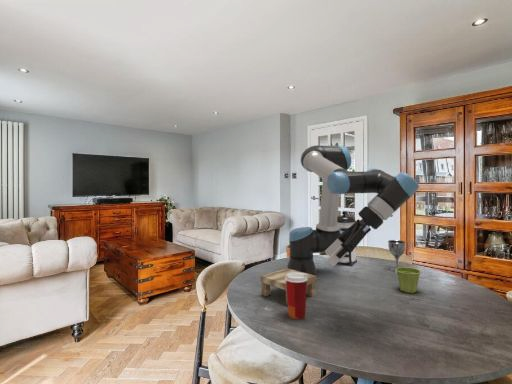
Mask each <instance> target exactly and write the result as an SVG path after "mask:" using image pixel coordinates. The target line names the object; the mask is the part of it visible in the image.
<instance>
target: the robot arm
mask: <svg viewBox="0 0 512 384" xmlns="http://www.w3.org/2000/svg"><path fill="white" fill-rule="evenodd" d="M300 164H301V166H302V167H303V168H304V170H306V171H307V172H309V173H314V174H315V175H317V176H318V177H319V178H320V179H322V186H321V197H320V199H321V200H320V211H319V212H320V213H319V214H320V215H319V222H318V223H317V224H315V225H316V226H315V229H313V227H311V226H305V227H303V226H302V227H301V226H300V227H296V228H294V229H291V230H290V232H289V236H288V237H289V238H288V241H289V244H288V245H289V259H288V263H287V267H286V268H288V269H292V270H296V271H300V272H304V273H307V274H311V275H315V276H316V277H317V275H318V274H317V273H318V272H317V271H318V270H317V268H316V265H315V262H314V254H319V253H321V254H322V253H326V255H328V256H329V257H328V258H327V259H326V262H327V263H328V264H329V265H330V266H331V267H332V268H334V267H335V266H336V265H337V264H338V263H340V262H339V261H340V260H341V259H342V258H343V257H344V256H345V255H346V254H347V253H348V252H352V251H353V250H354V249H355V247H356V248H357V246H358V245H359V243H361V242H362V240H363V239H364V238H365V237H366V235H367V234H368V233H369V232H371V230H372V229H373V230H378V228H380V226H382V225H383V224H384V221H387V220H388V219H389V218H392V217H393V216H394V215H393V214H394V213H395V212H396V211H398V209H400V208H401V207H402V206H403V205H404V204H405V203H406V202H407V201H408V200H409V199H410V198H412V197H413V196H414V194H415V193H416V192H417V191H418V190H419V188H420V185H419V183H418V181H417V180H416V179H414V177H413V176H411V175H410V174H409V173H406V172H402V171H401V172H399V173H398V174H397V175H395V176H393V175H391V174H388V173H387V172H386V171H384V170H382V169H378V168H370V169H368V170H366V171H350V168H351V165H352V156H351V153H350V150H349V149H348V147H346V146H344V145H343V146H342V145H319V144H318V145H311V146H309V147H308V148H306V149H305V150H304V151H303V152H302V153H301V156H300ZM344 194H345V195H348V194H351V195H352V194H376V195H375V196H374V197H372V199H370V201H369V202H367V206H364V207H363V208H362V209H361V210H360V211H358V213H357V214H358V216H359V217H360V218H361V219H357V220H356V222H355V223H354V224H353V225H351V226H350V227H349V228H348V229H346V230H345V231H344V232H343V233H342V231H341V230H340V227H339V226H338V225H337V217H338V216H339V205H340V204H339V203H340V197H341V196H340V195H344ZM370 227H371V228H372V229H371V228H370Z"/></svg>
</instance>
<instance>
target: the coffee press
mask: <svg viewBox="0 0 512 384" xmlns="http://www.w3.org/2000/svg"><path fill="white" fill-rule="evenodd" d="M341 214H342V215H339V214H338V217H337V225H338V226H339V227H340V230H341V231H342V233H343V232H344V231H345V230H346V229H348V228H349V227H350V226H351V225H353V224H354V223H355V222H356V221H357V220H356V219H355V217H354V216H352V215H346V214H347V212H346V211H345V210H342V212H341ZM356 248H357V246H356V247H355V249H354V250H353V251H352V252H348V253H347V254H346V255H345V256H344V257H343V258H342V259H341V260H340V261H339V262H338V263H343V264H348V266H349V267H353V263H355V264H357V263H358V260H357V257H356V255H357V253H356V252H357V251H356Z"/></svg>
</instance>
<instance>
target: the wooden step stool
mask: <svg viewBox="0 0 512 384" xmlns="http://www.w3.org/2000/svg"><path fill="white" fill-rule="evenodd" d="M292 272H299V273H304V272H300V271H296V270H292V269H288V268H287V267H286V268H282V269H279V270H277V271H273V272H270V273H266V274H264V275H260V282H261V295H264V296H263V297H265V296H268V297H270V296H271V286H272V287H274V288H278V289H281V290H284V291H285V305H286V306H288V300H287V286H286V280H285V277H286V275H287V274H288V273H292ZM304 274H306V277H307V279H308V280H307V290H306V296H308V297H311V298H313V297H315V296H316V282H317V275H316V276H315V275H311V274H307V273H304ZM269 295H270V296H269Z"/></svg>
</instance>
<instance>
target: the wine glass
mask: <svg viewBox="0 0 512 384" xmlns="http://www.w3.org/2000/svg"><path fill="white" fill-rule="evenodd" d="M387 243H388V250H389V253H390V254H391V255H392V256H393V257H394V259H395V260H394V261H395V266H396V267H393V268H391V267H390V269H389V271H391V272H395V273H397V271H396V268H398V267H399V259H400V258H401V257H402V256H403V255H404V253H405V250H406V241H404V240H400V239H399V240H397V239H396V240H395V239H390V240H388V242H387Z"/></svg>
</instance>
